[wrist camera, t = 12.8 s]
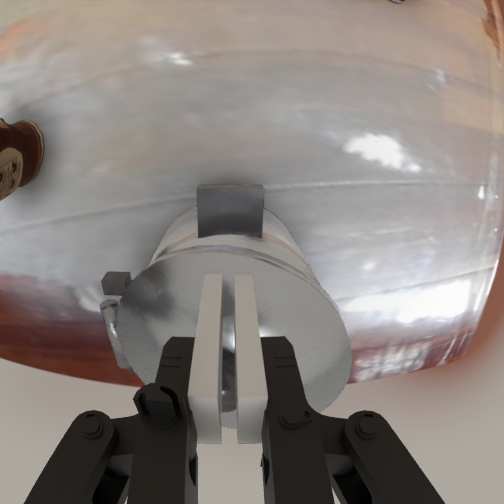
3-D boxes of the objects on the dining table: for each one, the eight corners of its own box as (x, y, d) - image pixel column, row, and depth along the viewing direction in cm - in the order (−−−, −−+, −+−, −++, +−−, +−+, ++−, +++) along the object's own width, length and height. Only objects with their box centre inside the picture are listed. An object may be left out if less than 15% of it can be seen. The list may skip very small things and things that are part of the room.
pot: (156, 343, 29) (141, 408, 21) (133, 170, 22) (87, 196, 14) (288, 342, 31) (306, 407, 23) (307, 170, 23) (351, 196, 15)
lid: (135, 392, 21) (118, 423, 17) (93, 231, 15) (53, 256, 12) (322, 426, 18) (321, 465, 15) (377, 259, 13) (396, 300, 10)
